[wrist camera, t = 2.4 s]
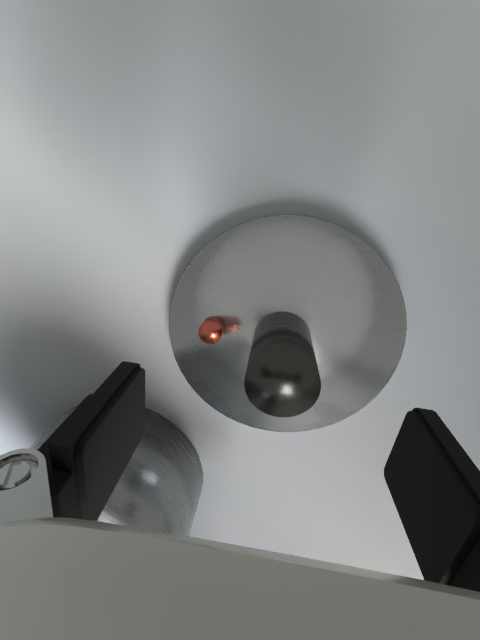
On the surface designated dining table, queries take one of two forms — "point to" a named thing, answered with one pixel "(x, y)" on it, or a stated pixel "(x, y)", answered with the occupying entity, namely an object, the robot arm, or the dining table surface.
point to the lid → (287, 323)
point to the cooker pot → (154, 480)
